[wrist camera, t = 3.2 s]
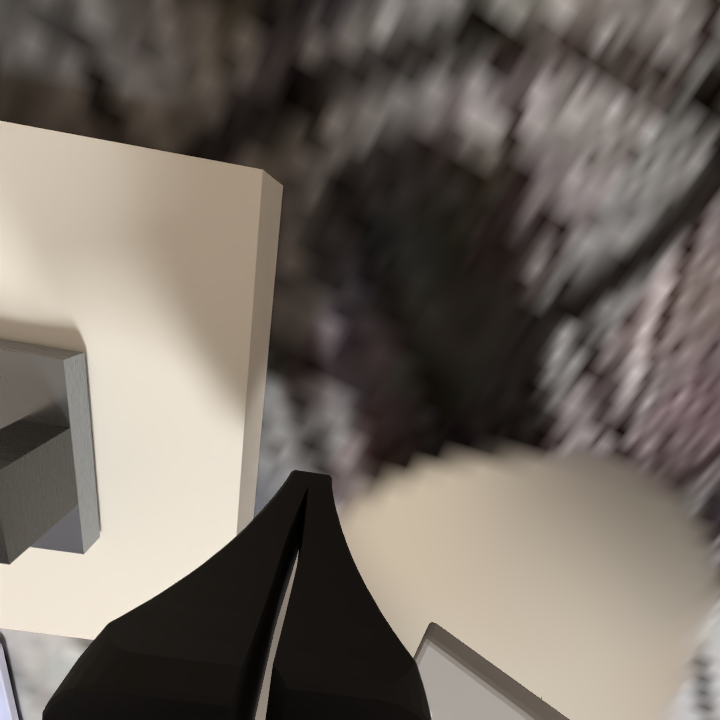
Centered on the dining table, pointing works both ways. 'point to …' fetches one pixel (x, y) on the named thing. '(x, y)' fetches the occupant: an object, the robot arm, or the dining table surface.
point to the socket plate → (140, 354)
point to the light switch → (472, 684)
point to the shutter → (45, 452)
